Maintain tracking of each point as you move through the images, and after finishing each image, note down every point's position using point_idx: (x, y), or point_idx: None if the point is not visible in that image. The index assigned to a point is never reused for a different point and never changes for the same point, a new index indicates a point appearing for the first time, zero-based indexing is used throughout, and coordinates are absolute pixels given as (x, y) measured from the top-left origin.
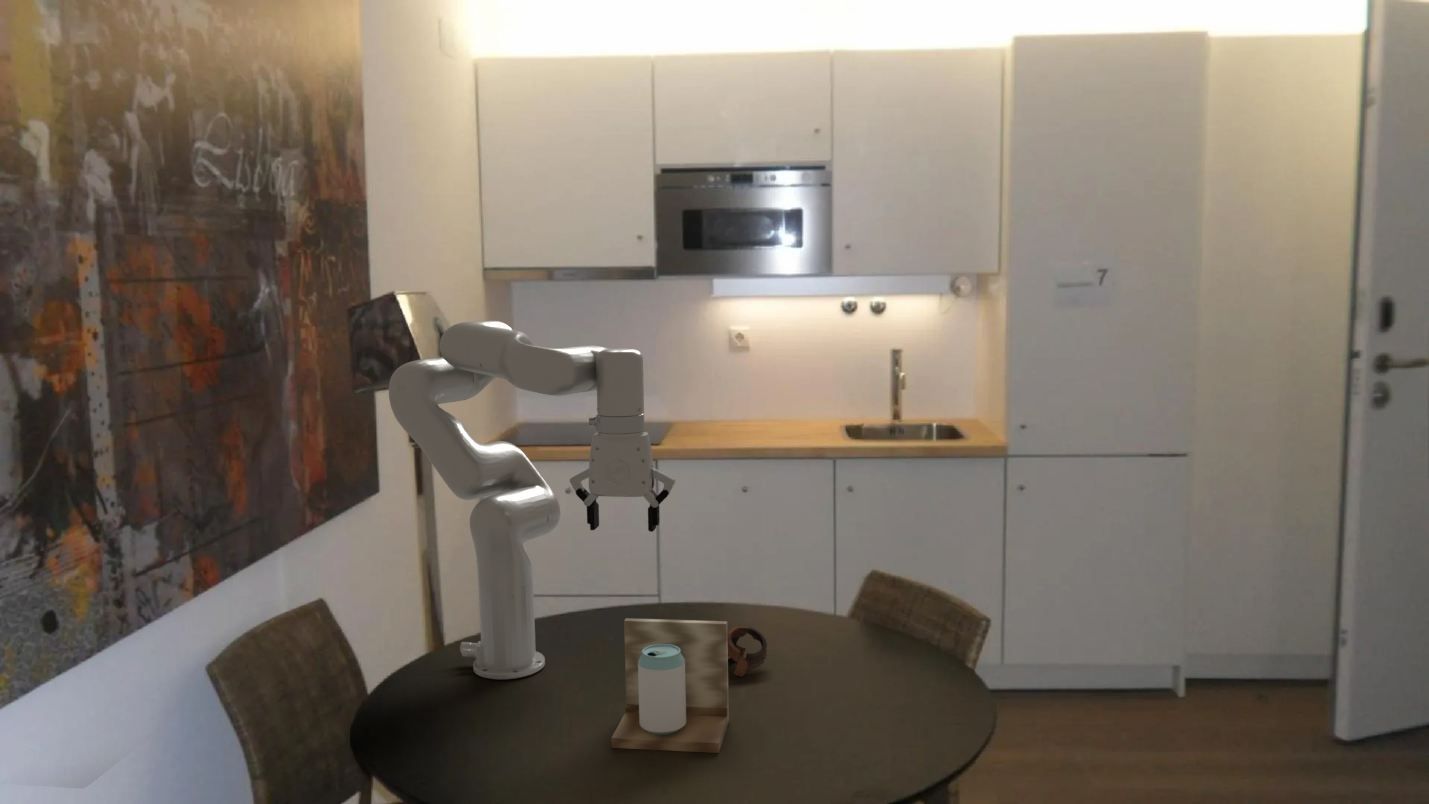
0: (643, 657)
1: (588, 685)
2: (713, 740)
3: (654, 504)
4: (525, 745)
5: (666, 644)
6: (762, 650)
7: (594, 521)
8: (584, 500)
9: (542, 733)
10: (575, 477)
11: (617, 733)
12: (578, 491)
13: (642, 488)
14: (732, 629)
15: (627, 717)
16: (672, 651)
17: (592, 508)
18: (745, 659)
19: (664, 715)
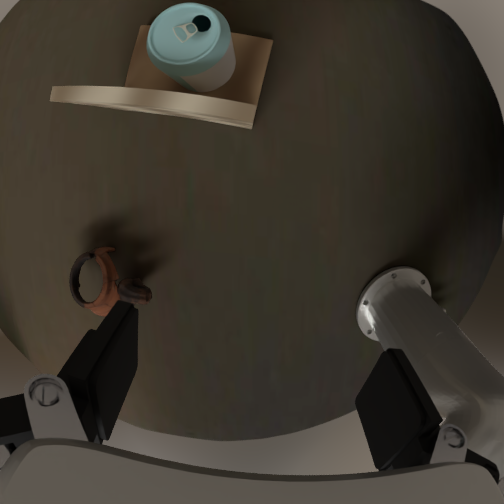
0: (219, 20)
1: (305, 239)
2: (146, 30)
3: (50, 392)
4: (374, 71)
5: (171, 61)
6: (74, 265)
7: (396, 373)
8: (467, 443)
9: (359, 97)
10: None
11: (265, 51)
12: (495, 473)
13: (44, 489)
14: (100, 299)
15: (252, 95)
16: (163, 36)
17: (428, 414)
18: (95, 254)
19: (199, 29)
